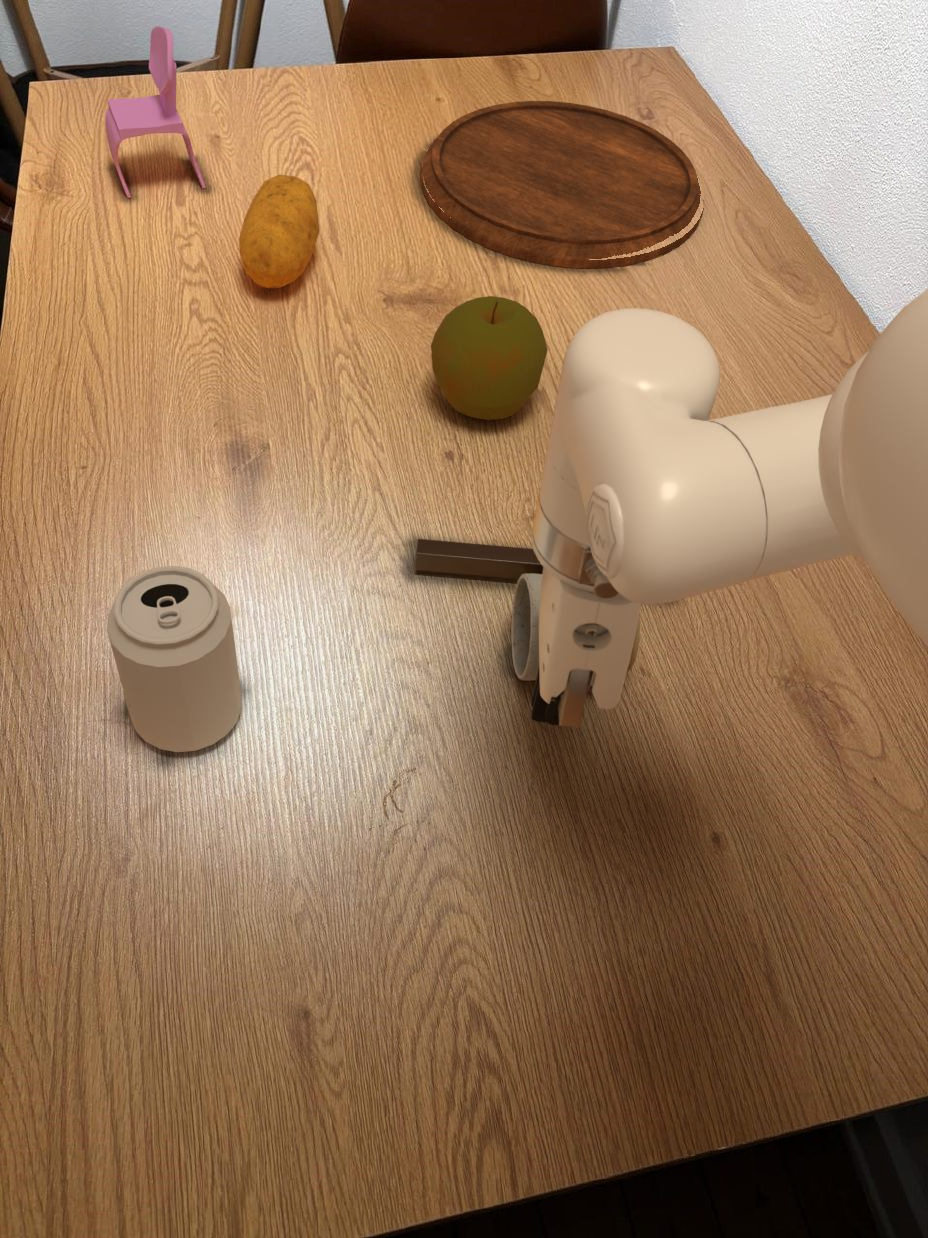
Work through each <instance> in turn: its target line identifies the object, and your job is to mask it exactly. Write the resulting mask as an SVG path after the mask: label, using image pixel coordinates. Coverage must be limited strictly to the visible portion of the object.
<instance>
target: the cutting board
mask: <svg viewBox="0 0 928 1238" xmlns="http://www.w3.org/2000/svg"><path fill="white" fill-rule="evenodd" d="M432 142H433V143H432ZM432 142H431V144H430V145H429V146H430V147H429V146H428V148H429V149H428V148H427V149H428V151H427V152H426V151H425V152H426V155H425V154H424V155H425V157H424V156H423V158H424V160H423V158H422V160H423V167H422V162H421V164H420V170H421V169H422V173H423V174H421V173H420V177H419V178H420V179H419V180H420V181H419V183H420V187H421V191H422V194H423V197H424V198H425V200H426V202H427V203H428V206H429V207H430V208H431V209H432V210H433V212H434V213H435V214H436V215H437V216H438V218H439V219H440V220H441V221H443V223H445V224H446V225H447V226H449V227H450V228H451V229H452V230H454V231H456V232H457V233H458V234H460V235H462V236H463V237H465V238H466V239H468V240H470V241H472V242H474V243H476V244H478V245H479V246H482V247H485V248H486V249H488V250H491V251H492V252H493V251H494V252H496V253H498V254H501V255H505V256H507V257H510V258H514V259H518V260H522V261H526V262H530V263H533V264H539V265H546V266H553V267H557V268H558V267H559V268H572V269H607V268H616V267H624V266H626V267H627V266H630V265H635V264H640V263H644V262H647V261H650V260H653V259H656V258H658V257H662V256H665V255H666V254H668V253H670V252H672V251H673V250H675V249H677V248H678V247H680V246H681V245H682V244H684V243H685V242H686V241H688V240H689V239H690V238H691V236H692V235H693V234H694V233H695V231H696V230H697V229H698V227H699V225H700V223H701V220H702V217H703V214H704V210H705V207H704V208H703V211H702V214H701V216H700V219H699V220H698V221H697V223H696V224H695V225H694V227H693V228H692V229H691V230H690V231H689V232H688V233H686V234H685V235H684V236H683V237H682V238H680V239H678V240H676V241H675V242H673V243H671V244H669V245H667V246H665V247H662V248H660V249H657V250H654V251H651V252H649V253H644V254H640V255H635V256H631V257H624V258H616V259H607V260H589V259H602V258H608V257H612V256H614V255H615V256H617V255H618V256H619V255H623V254H626V255H627V254H629V253H631V254H632V253H633V252H638V251H640V250H643V249H644V248H646V249H647V247H649V248H650V247H651V246H653V245H655V244H657V243H659V242H662V241H664V240H665V239H667V238H669V236H674V234H677V233H679V232H680V231H681V230H682V229H684V228H685V227H686V226H688V224H689V223H690V222H691V220H692V218H693V217H694V215H695V213H696V211H697V209H698V207H699V204H700V196H701V195H700V194H701V191H700V186H699V183H698V178H699V177H698V178H697V176H698V174H697V170H696V168H695V166H694V165H693V162H692V161H691V158H689V157H688V156H687V154H686V153H685V152H684V151H683V149H682V148H681V147H680V146H678V145H677V144H676V143H674V142H673V141H672V140H671V139H670V138H669V137H667V136H665V135H664V134H662V133H661V132H660V131H658V130H657V129H654V128H653V127H650V126H649V125H648V124H645V123H643V122H641V121H640V120H639V121H638V120H636V119H634V118H631V117H629V116H627V115H623V114H620V113H618V112H614V111H611V110H607V109H605V108H600V107H595V106H590V105H585V104H579V103H573V102H566V101H554V100H524V101H511V102H505V103H498V104H494V105H490V106H485V107H483V108H479V109H475V110H473V111H471V112H469V113H466V114H464V115H461V116H460V117H458V118H457V119H455V120H454V121H452V122H450V124H448V125H447V126H446V127H445V128H444V129H442V130H441V132H440V133H439V135H438V136H437V137H435V139H433V141H432ZM422 175H423V177H424V181H425V185H426V188H427V189H428V191H429V193H428V192H427V190H426V188H425V186H424V183H423V178H422ZM429 194H430V195H431V197H432V198H431V197H430V195H429ZM432 199H434V201H435V202H434V201H433V200H432ZM439 207H440V208H442V210H443V211H444V212H443V211H442V210H441V209H440V208H439ZM450 217H451V218H450Z"/></svg>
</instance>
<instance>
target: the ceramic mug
mask: <svg viewBox="0 0 928 1238" xmlns="http://www.w3.org/2000/svg"><path fill="white" fill-rule="evenodd" d="M541 581H542V574H522V575H521V576H520V578H519V580H518V581H517V583H516V585H515V588H514V594H513V601H512V609H511V621H510V622H511V626H510V627H511V629H510V631H511V632H510V641H511V657H512V663H513V669H514V673H515V675H516V676H517V679H518V680H521V681H525V682H526V681H527V682H529V681H536V677H537V673H538V668H539V606H540V591H541ZM640 616H641V615H639V619H638V625H637V630H636V635H635V640H634V644H633V648H632V653H631V657H630V661H629V665H628V669H627V673H629V671H630V670H631V669H632V668H633V666H634V664H635V662H636V660H637V657H638V651H639V645H640V637H641V636H640V635H641V617H640Z"/></svg>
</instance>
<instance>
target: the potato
mask: <svg viewBox="0 0 928 1238" xmlns="http://www.w3.org/2000/svg"><path fill="white" fill-rule="evenodd" d="M317 203H318V202H317V198H316V196H315V193H314V191H313V189H312V188H311V185H310V184H309V183H308V182H307V181H305V180H303V179H301V178H300V177H298V176H294V175H285V174H277V175H275V176H273V177H270V178H269V179H266V180H264V181H263V183H262V184H261V185H260V188H259V189H258V190H257V192H256V193H255V195H254V196H253V198H252V200H251V203H250V205H249V207H248V209H247V212H246V214H245V217H244V220H243V223H242V225H241V226H242V227H241V229H240V234H239V236H238V237H239V238H238V241H239V243H238V247H239V255H240V259H241V263H242V266H243V270H244V272H245V273H246V274H247V275H248V276H249V277H250V279H252V280H253V282H254V283H255V284H256V285H257V286H259V287H262V288H265V289H280V288H282V287H285V286H287V285H289V284H291V283H293V282H295V281H296V280H297V279H298V278H299V277H300V276H301V275H303V273H304V271H305V269H306V267H307V265H308V263H309V262H310V261H311V258H313V257H312V256H313V253H314V251H315V248H316V244H317V242H318V238H319V234H320V221H319V212H318V205H317Z"/></svg>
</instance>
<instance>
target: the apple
mask: <svg viewBox="0 0 928 1238" xmlns="http://www.w3.org/2000/svg"><path fill="white" fill-rule="evenodd" d="M546 342H547V341H546V338H545V334H544V330H543V328H542V326H541V324H540V322H539V320H538V318H537V317H536V316H535V314H533V313H532V312H531V311H530V310H529V309H528V308H527V307H525V305H523V304H521V303H520V302H518V301H516V300H513V299H509V298H506V297H503V296H494V295H493V296H492V295H487V296H481V297H476V298H475V297H474V298H472V299H469V300H466V301H465V302H462V303H461V304H459V305H458V306H456V307H454V308H453V309H452V310H450V311H449V313H447V314H446V315H445V316H443V319H442V320H441V322H440V324H439V326H438V327H437V329H436V331H435V332H434V336H433V338H432V340H431V344H430V353H431V366H432V372H433V375H434V377H435V380H436V382H437V385H438V387H439V388H440V390H441V392H442V395H443V396H444V398H445V400H446V402H447V403H448V404H449V405H450V406H451V407H452V408H453V409H454V410H455V411H456V412H457V413H460V414H462V415H465V416H468V417H469V418H475V419H480V420H487V421H490V420H503V419H506V418H508V417H511V416H513V415H516V414H517V413H519V411H520V410H521V409H522V407H523V406H524V405H525V404H526V403H527V402H528V400H529V399H530V398H531V396H532V395H534V393H535V392H536V391H537V389H539V386H540V381H541V378H542V374H543V369H544V366H545V362H546V358H547V355H548V345H547V343H546Z"/></svg>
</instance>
